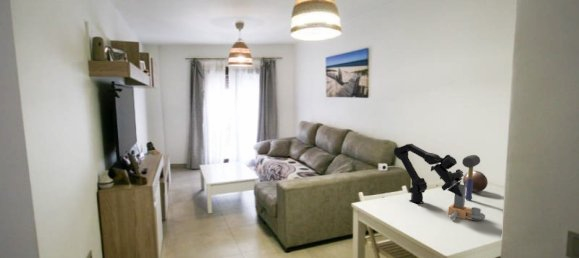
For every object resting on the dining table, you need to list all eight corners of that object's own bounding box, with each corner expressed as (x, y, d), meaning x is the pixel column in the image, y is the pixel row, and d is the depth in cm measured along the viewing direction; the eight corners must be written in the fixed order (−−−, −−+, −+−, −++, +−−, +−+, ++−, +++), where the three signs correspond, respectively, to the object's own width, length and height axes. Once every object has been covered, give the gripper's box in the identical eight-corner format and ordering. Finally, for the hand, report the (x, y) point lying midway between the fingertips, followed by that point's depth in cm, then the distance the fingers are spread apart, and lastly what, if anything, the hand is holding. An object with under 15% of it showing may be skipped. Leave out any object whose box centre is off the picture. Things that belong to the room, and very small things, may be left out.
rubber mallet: (471, 203, 195) (474, 157, 192) (458, 200, 201) (461, 155, 197) (478, 199, 203) (481, 155, 200) (466, 196, 209) (469, 153, 205)
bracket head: (443, 218, 172) (443, 208, 171) (452, 210, 183) (453, 201, 183) (478, 228, 160) (479, 217, 159) (486, 219, 171) (487, 208, 170)
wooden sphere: (457, 190, 223) (459, 170, 221) (470, 187, 230) (471, 167, 228) (478, 196, 210) (480, 174, 208) (491, 192, 217) (492, 172, 215)
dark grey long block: (453, 205, 177) (455, 184, 175) (455, 204, 179) (457, 183, 178) (462, 207, 174) (464, 186, 172) (464, 206, 176) (465, 185, 175)
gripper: (449, 168, 170) (469, 192, 164) (459, 162, 183) (479, 184, 177) (433, 179, 176) (452, 202, 170) (444, 173, 190) (463, 194, 183)
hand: (462, 195), depth 175 cm, fingers closed on dark grey long block, 3 cm apart
